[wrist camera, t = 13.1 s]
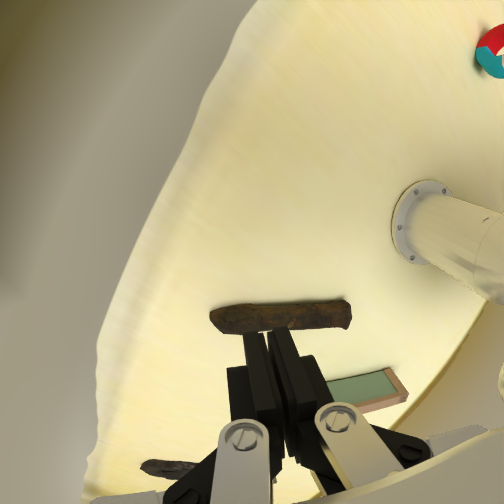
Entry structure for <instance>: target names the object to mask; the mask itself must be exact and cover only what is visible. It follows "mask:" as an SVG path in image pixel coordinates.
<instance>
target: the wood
mask: <svg viewBox="0 0 504 504" xmlns="http://www.w3.org/2000/svg"><path fill="white" fill-rule="evenodd" d="M198 464H199V463H193V462H183V461H163V460H156V459H152V460H148V461H146V462H144V463H143V464H142V466H141V467H140V469H141V470H143V471H144V472H145V473H147V474H149V475H151V476H156V477H163V478H166V479H170V480H179V479H180V478H182V477H183V476H184V475H185V474H187V473H188V472H189V471H190V470H192V469H193V468H194V467H195V466H196V465H198Z"/></svg>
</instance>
